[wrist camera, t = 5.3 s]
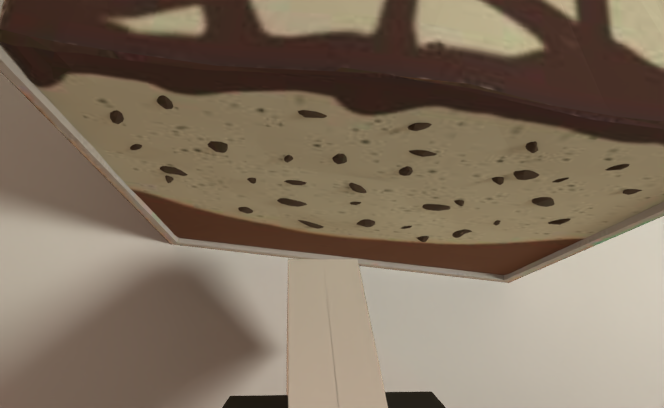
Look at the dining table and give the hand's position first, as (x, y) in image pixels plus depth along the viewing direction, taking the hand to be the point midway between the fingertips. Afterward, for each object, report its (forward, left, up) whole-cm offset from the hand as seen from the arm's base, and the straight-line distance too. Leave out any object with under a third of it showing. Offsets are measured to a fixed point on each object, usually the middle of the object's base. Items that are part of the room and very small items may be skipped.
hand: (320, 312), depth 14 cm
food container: (-1, -5, -3) cm, 6 cm away
